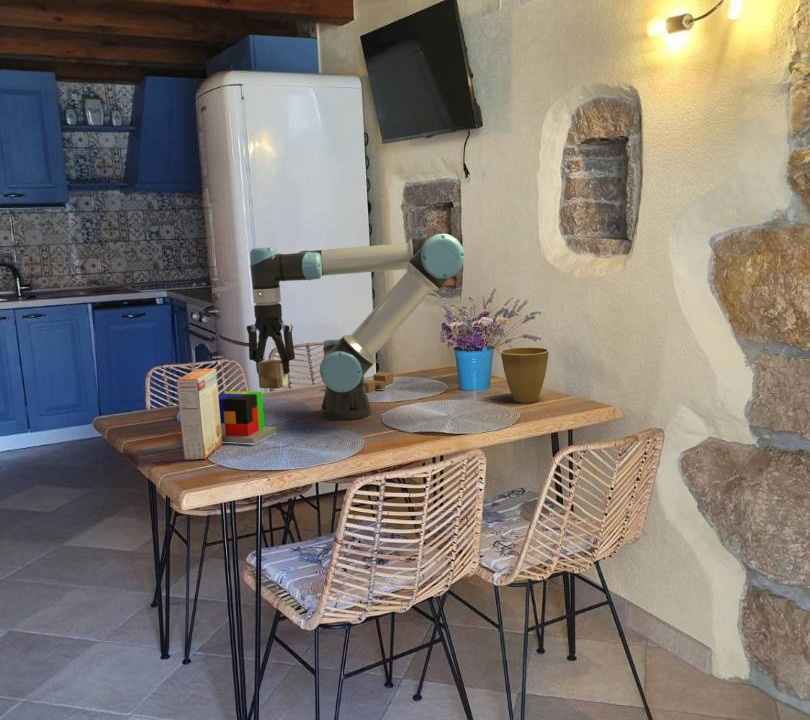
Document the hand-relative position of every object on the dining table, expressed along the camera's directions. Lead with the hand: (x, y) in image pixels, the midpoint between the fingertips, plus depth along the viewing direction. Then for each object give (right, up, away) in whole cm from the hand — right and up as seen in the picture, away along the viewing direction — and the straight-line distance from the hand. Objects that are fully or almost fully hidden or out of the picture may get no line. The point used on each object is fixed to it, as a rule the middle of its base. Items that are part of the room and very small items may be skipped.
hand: (274, 384), depth 230 cm
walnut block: (0, 0, 0) cm, 0 cm away
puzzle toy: (-8, -13, -8) cm, 17 cm away
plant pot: (+75, -6, +26) cm, 79 cm away
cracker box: (-15, -17, -20) cm, 31 cm away
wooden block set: (+22, -3, +53) cm, 58 cm away
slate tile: (-8, -14, -7) cm, 18 cm away
